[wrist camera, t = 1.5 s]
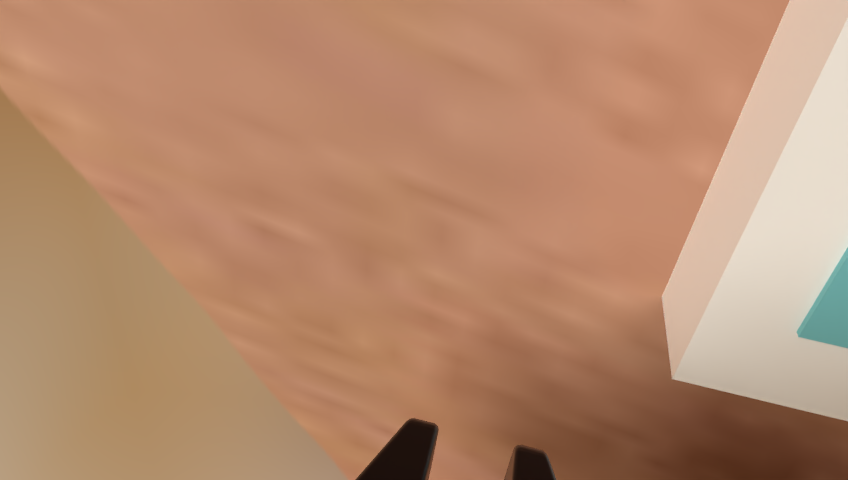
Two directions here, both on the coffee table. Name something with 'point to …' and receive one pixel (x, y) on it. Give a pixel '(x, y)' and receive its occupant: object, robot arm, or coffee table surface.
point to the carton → (775, 233)
